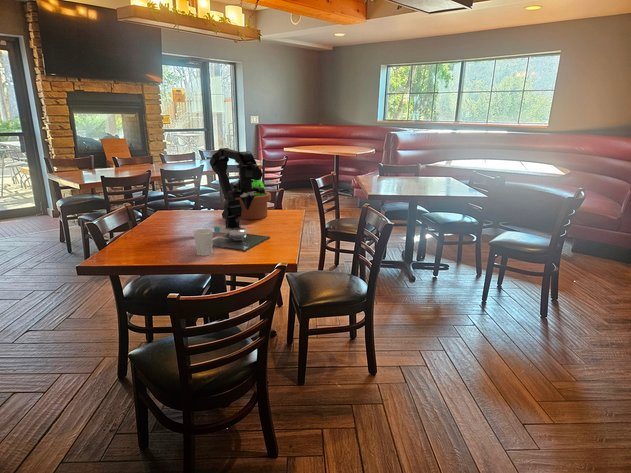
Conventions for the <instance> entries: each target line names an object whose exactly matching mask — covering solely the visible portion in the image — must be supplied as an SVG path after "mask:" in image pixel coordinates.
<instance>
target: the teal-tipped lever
mask: <svg viewBox="0 0 631 473" xmlns="http://www.w3.org/2000/svg"><path fill="white" fill-rule="evenodd" d="M213 232H214V233H222V234H228V233H229V235H230V238H234V239H239V238H244V237H246V236H247V234H248V232H247V228H245V227H241V228H233V229H231V228H226V227H224V226H218V225H217V226H214V227H213Z"/></svg>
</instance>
